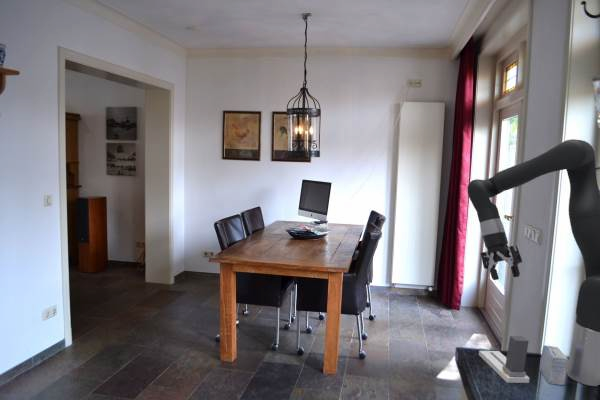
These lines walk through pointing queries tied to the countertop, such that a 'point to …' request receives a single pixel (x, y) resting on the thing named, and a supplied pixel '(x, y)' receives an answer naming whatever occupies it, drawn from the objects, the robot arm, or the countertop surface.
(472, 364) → the countertop surface
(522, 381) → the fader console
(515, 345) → the fader tab
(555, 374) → the medicine box
